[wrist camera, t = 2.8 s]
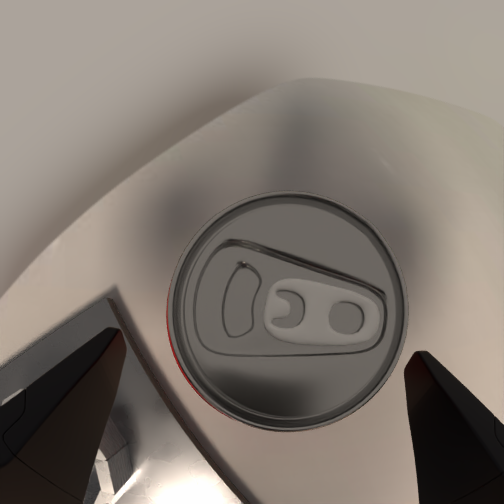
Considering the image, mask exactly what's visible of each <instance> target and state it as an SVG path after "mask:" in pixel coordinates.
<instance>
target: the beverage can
mask: <svg viewBox="0 0 504 504" xmlns="http://www.w3.org/2000/svg"><path fill="white" fill-rule="evenodd" d="M408 316H409V306H408V295H407V289H406V284H405V280H404V277H403V273H402V270H401V268H400V265H399V263H398V261H397V259H396V257H395V255H394V253H393V251H392V249H391V248H390V246H389V245H388V243H387V242H386V240H385V239H384V237H383V236H382V235H381V233H380V232H379V231H378V229H377V228H376V227H375V226H374V225H373V224H372V223H371V222H370V221H368V220H367V219H366V218H364V217H363V216H362V215H360V214H359V213H357V212H356V211H354V210H353V209H351V208H349V207H348V206H346V205H344V204H342V203H340V202H338V201H336V200H333V199H331V198H328V197H325V196H321V195H318V194H313V193H308V192H301V191H276V192H268V193H263V194H259V195H255V196H252V197H249V198H246V199H244V200H241V201H239V202H237V203H235V204H233V205H231V206H229V207H227V208H226V209H224V210H222V211H221V212H219V213H218V214H217V215H215V216H214V217H213V218H212V219H210V220H209V221H208V222H207V223H206V224H205V225H204V226H203V227H202V228H201V229H200V230H199V231H198V232H197V233H196V234H195V236H194V237H193V238H192V240H191V241H190V242H189V244H188V245H187V247H186V248H185V250H184V252H183V254H182V255H181V257H180V259H179V261H178V264H177V266H176V269H175V271H174V274H173V277H172V280H171V284H170V288H169V293H168V298H167V310H166V319H167V330H168V337H169V341H170V345H171V348H172V352H173V355H174V357H175V359H176V362H177V364H178V366H179V368H180V370H181V372H182V374H183V375H184V377H185V378H186V380H187V381H188V383H189V384H190V385H191V387H192V388H193V389H194V390H195V391H196V392H197V393H198V395H199V396H200V397H201V398H202V399H204V400H205V401H206V402H207V403H208V404H209V405H211V406H212V407H213V408H214V409H216V410H217V411H219V412H220V413H222V414H224V415H225V416H227V417H229V418H231V419H233V420H236V421H238V422H240V423H243V424H245V425H248V426H251V427H254V428H258V429H262V430H267V431H274V432H301V431H308V430H313V429H317V428H321V427H324V426H327V425H330V424H333V423H335V422H337V421H339V420H342V419H343V418H345V417H347V416H349V415H351V414H352V413H354V412H355V411H357V410H358V409H360V408H361V407H362V406H363V405H365V404H366V403H367V402H368V401H369V400H370V399H371V398H372V397H373V396H374V395H375V394H376V393H377V392H378V391H379V390H380V389H381V387H382V386H383V385H384V384H385V382H386V381H387V379H388V378H389V376H390V375H391V373H392V371H393V370H394V368H395V366H396V364H397V362H398V360H399V357H400V355H401V352H402V349H403V346H404V343H405V338H406V334H407V327H408Z"/></svg>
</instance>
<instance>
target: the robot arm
mask: <svg viewBox="0 0 504 504" xmlns="http://www.w3.org/2000/svg"><path fill="white" fill-rule="evenodd" d="M126 353H127V347H126V343H125V340H124V336H123V333H122V330H121V329H119V328H115V327H107V328H105V329H104V330H102V331H101V332H100V333H98V334H97V335H96V336H94V337H93V338H91V339H90V340H89V341H87V342H86V343H85V344H83V345H82V346H81V347H79V348H78V349H77V350H75V351H74V352H72V353H71V354H70V355H68V356H67V357H66V358H64V359H63V360H62V361H60V362H59V363H58V364H56V365H55V366H54V367H52V368H51V369H50V370H48V371H47V372H46V373H44V374H43V375H42V376H40V377H39V378H38V379H37V380H35V381H34V382H33V383H31V384H30V385H29V386H27V387H26V389H23V390H22V391H21V392H19V393H18V394H17V395H15V396H14V397H13V398H11V399H10V400H9V401H7V402H6V403H4V404H3V405H1V406H0V504H83V503H84V499H85V495H86V491H87V487H88V484H89V480H90V476H91V473H92V469H93V466H94V463H95V459H96V456H97V453H98V449H99V446H100V443H101V440H102V437H103V434H104V430H105V427H106V424H107V421H108V418H109V415H110V413H111V410H112V407H113V404H114V401H115V398H116V395H117V391H118V386H119V382H120V378H121V374H122V370H123V365H124V361H125V358H126ZM404 379H405V389H406V400H407V411H408V418H409V424H410V430H411V436H412V443H413V450H414V457H415V465H416V473H417V483H418V494H419V504H504V425H503V424H502V423H501V422H500V421H499V419H498V418H497V417H495V416H494V415H493V414H492V412H491V411H490V410H489V409H488V408H486V407H485V406H484V405H483V404H482V403H481V402H480V401H479V400H478V399H477V398H476V397H475V396H474V395H473V394H472V393H471V392H470V391H469V390H468V389H467V388H466V387H465V386H464V385H463V384H462V383H461V382H460V381H459V380H458V379H457V378H456V377H455V376H454V375H453V374H451V373H450V372H449V371H448V370H447V369H446V368H445V367H444V366H443V365H442V364H441V363H440V362H439V361H438V360H437V359H435V358H434V357H433V356H432V355H431V354H430V353H429V352H428V351H416V352H415V353H414V354H413V355H412V357H411V359H410V360H409V362H408V363H407V365H406V367H405V369H404Z"/></svg>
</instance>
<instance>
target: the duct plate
mask: <svg viewBox="0 0 504 504" xmlns="http://www.w3.org/2000/svg"><path fill="white" fill-rule="evenodd" d="M107 327H115V328H119V329H121V330H122V333H123V336H124V340H125V343H126V347H127V353H126V358H125V361H124V365H123V370H122V374H121V378H120V382H119V386H118V391H117V395H116V398H115V401H114V404H113V407H112V410H111V413H110V415H109V418H108V421H107V424H106V427H105V430H104V434H103V437H102V440H101V443H100V446H99V449H98V453H97V456H96V459H95V463H94V466H93V469H92V473H91V476H90V480H89V484H88V487H87V491H86V495H85V499H84V503H83V504H250V503H249V502H248V501H247V500H246V499H245V498H244V496H243V495H242V494H241V493H240V492H239V491H238V490H237V489H236V487H235V486H234V485H233V484H232V483H231V482H230V481H229V479H228V478H227V477H226V476H225V475H224V473H223V472H222V471H221V470H220V469H219V467H218V466H217V465H216V464H215V463H214V461H213V460H212V459H211V457H210V456H209V455H208V454H207V452H206V451H205V450H204V448H203V447H202V446H201V445H200V443H199V442H198V441H197V439H196V438H195V436H194V435H193V434H192V432H191V431H190V430H189V428H188V427H187V425H186V424H185V423H184V421H183V420H182V418H181V417H180V415H179V414H178V412H177V411H176V410H175V408H174V407H173V405H172V404H171V402H170V401H169V399H168V397H167V396H166V394H165V393H164V391H163V390H162V388H161V386H160V385H159V383H158V382H157V380H156V378H155V377H154V375H153V373H152V372H151V370H150V368H149V367H148V365H147V363H146V362H145V360H144V358H143V356H142V355H141V353H140V351H139V349H138V348H137V346H136V344H135V342H134V340H133V338H132V337H131V335H130V333H129V331H128V329H127V327H126V325H125V323H124V321H123V319H122V317H121V315H120V314H119V311H118V309H117V307H116V305H115V303H114V301H113V299H109V298H104V299H103V300H101V301H100V302H98V303H97V304H95V305H94V306H92V307H91V308H89V309H88V310H86V311H85V312H83V313H82V314H80V315H79V316H77V317H76V318H74V319H73V320H71V321H70V322H68V323H67V324H65V325H64V326H62V327H61V328H59V329H58V330H56V331H55V332H53V333H52V334H51V335H49V336H48V337H46V338H45V339H43V340H42V341H40V342H39V343H38V344H36V345H35V346H33V347H32V348H31V349H29V350H28V351H26V352H25V353H23V354H22V355H21V356H19V357H18V358H16V359H15V360H14V361H12V362H11V363H10V364H8V365H7V366H5V367H4V368H3V369H1V370H0V406H1V405H3V404H4V403H6V402H7V401H9V400H10V399H11V398H13V397H14V396H15V395H17V394H18V393H19V392H21V391H22V390H23V389H26V387H27V386H29V385H30V384H31V383H33V382H34V381H35V380H37V379H38V378H39V377H40V376H42V375H43V374H44V373H46V372H47V371H48V370H50V369H51V368H52V367H54V366H55V365H56V364H58V363H59V362H60V361H62V360H63V359H64V358H66V357H67V356H68V355H70V354H71V353H72V352H74V351H75V350H77V349H78V348H79V347H81V346H82V345H83V344H85V343H86V342H87V341H89V340H90V339H91V338H93V337H94V336H96V335H97V334H98V333H100V332H101V331H102V330H104V329H105V328H107Z"/></svg>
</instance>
